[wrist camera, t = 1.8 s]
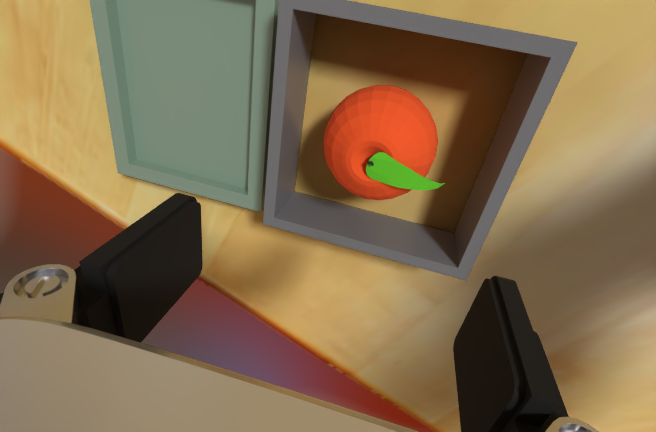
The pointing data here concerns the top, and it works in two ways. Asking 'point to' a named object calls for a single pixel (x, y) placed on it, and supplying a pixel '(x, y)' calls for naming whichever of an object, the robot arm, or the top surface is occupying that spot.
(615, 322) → the top surface
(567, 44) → the open square sleeve
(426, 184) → the clementine
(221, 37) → the tray
